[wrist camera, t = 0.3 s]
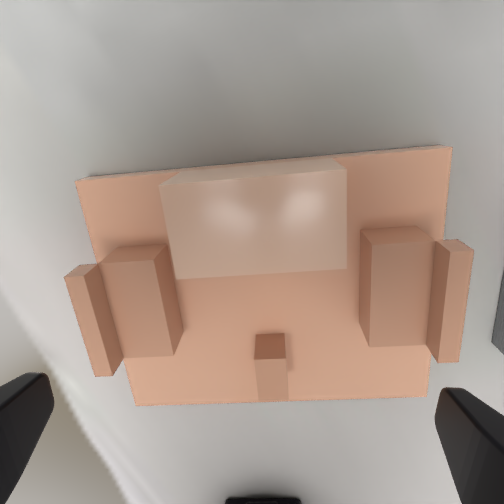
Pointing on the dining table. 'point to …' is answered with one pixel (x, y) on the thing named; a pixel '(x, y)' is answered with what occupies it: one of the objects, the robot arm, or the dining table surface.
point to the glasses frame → (499, 322)
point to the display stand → (274, 278)
